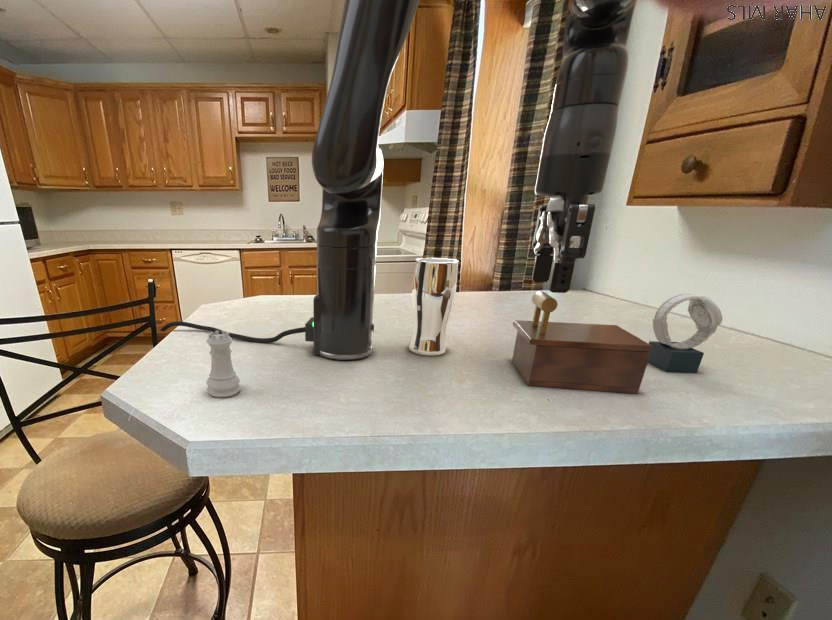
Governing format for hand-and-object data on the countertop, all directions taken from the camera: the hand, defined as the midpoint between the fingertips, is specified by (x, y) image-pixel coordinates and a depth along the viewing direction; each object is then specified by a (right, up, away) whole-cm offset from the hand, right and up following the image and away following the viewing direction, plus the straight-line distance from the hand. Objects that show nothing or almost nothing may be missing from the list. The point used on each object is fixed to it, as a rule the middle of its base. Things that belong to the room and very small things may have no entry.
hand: (548, 286), depth 58 cm
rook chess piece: (-44, -15, -2) cm, 47 cm away
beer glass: (-13, -8, +15) cm, 21 cm away
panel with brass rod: (+5, -7, +2) cm, 8 cm away
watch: (+23, -11, +8) cm, 27 cm away
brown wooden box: (+5, -12, +4) cm, 14 cm away
